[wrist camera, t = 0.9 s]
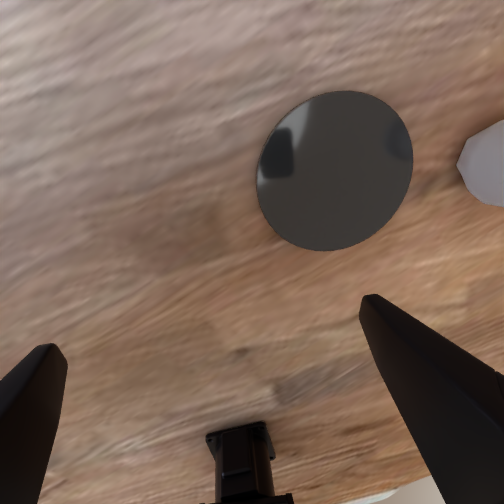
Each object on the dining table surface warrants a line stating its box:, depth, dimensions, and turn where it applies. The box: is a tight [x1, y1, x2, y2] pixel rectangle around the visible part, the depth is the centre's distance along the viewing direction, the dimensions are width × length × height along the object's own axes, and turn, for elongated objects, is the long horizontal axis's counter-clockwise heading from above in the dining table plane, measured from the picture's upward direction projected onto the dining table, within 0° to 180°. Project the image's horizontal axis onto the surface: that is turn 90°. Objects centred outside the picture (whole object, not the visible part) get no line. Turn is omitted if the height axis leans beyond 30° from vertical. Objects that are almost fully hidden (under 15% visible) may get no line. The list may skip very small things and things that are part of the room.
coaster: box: [256, 91, 413, 251], centre depth 22 cm, size 11×11×1 cm
